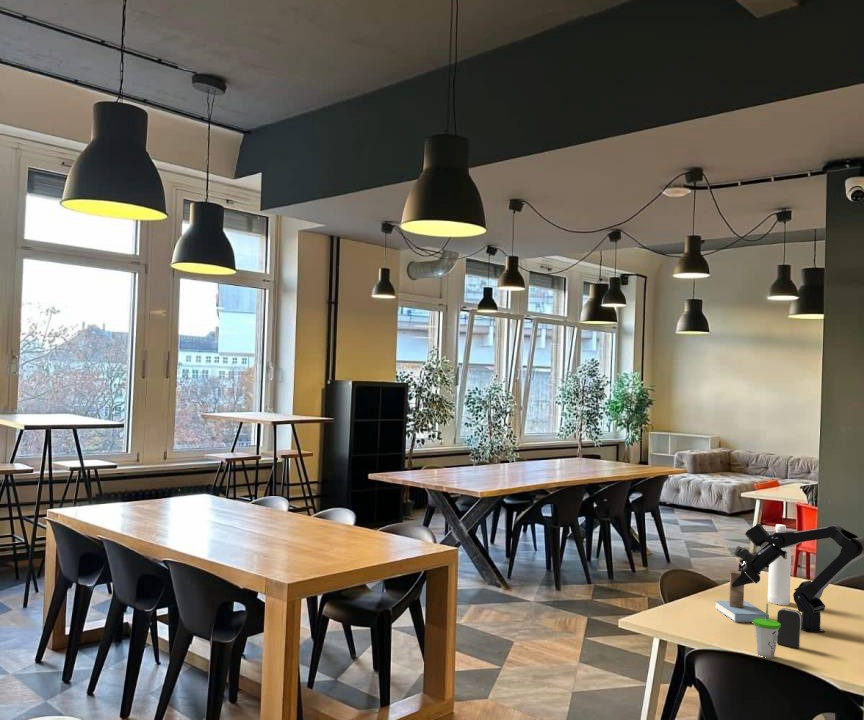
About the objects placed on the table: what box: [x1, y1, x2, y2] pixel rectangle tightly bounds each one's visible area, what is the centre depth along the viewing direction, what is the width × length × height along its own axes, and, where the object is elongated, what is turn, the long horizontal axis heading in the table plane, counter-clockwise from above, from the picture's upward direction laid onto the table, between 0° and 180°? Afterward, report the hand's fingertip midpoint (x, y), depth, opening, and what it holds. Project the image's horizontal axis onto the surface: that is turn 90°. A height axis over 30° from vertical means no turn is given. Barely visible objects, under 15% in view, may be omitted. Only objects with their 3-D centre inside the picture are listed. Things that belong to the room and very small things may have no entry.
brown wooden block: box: [728, 569, 745, 608], centre depth 282 cm, size 4×4×12 cm
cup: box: [752, 603, 781, 660], centre depth 236 cm, size 8×8×15 cm
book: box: [715, 600, 770, 623], centre depth 279 cm, size 17×12×3 cm
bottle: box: [767, 523, 792, 606], centre depth 301 cm, size 8×8×30 cm
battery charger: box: [776, 607, 802, 649], centre depth 248 cm, size 7×4×11 cm, turn 52°
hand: (731, 584), depth 282 cm, fingers open, 6 cm apart
